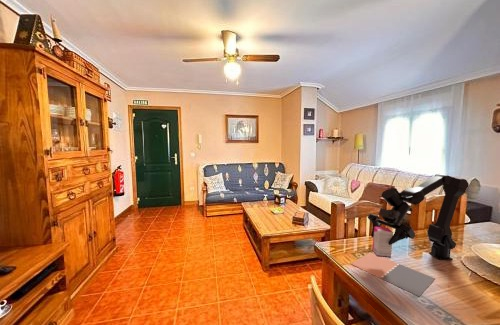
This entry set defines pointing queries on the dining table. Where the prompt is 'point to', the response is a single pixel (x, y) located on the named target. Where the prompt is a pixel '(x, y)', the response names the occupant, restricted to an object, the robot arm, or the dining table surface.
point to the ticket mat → (394, 273)
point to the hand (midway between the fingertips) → (380, 240)
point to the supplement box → (382, 242)
